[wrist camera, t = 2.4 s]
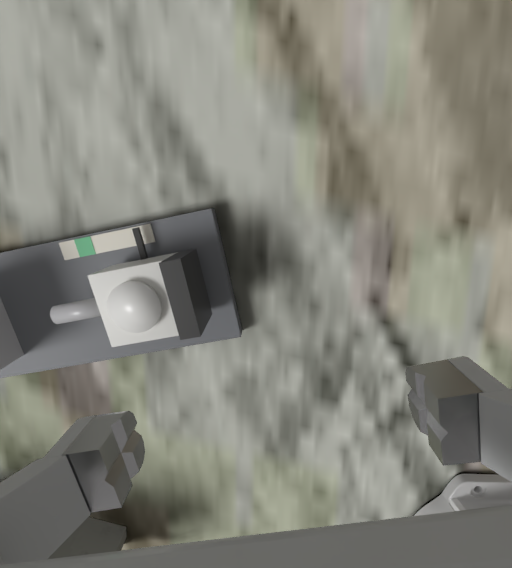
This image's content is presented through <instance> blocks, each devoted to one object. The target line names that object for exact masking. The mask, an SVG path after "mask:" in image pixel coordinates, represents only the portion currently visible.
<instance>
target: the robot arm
mask: <svg viewBox="0 0 512 568" xmlns="http://www.w3.org/2000/svg"><path fill="white" fill-rule="evenodd" d="M406 381H407V383H408V384H409V385H410V387H411V388H412V389H411V391H410V393H409V394H408V401H409V407H410V410H411V414H412V417H413V419H414V421H415V423H416V425H417V427H418V428H419V430H420V432H422V433H424V434H426V435H428V440H429V445H430V447H431V448H432V450H433V451H434V453H435V454H436V456H437V457H438V459H439V460H440V462H441V463H442V465H453V464H463V463H472V462H481V464H483V465H485V466H486V467H488V468H489V469H491V470H493V471H494V472H496V473H497V474H499V475H494V474H460V475H457V476H455V477H454V478H453V479H452V480H451V481H450V482H449V484H448V485H447V486H446V488H445V489H444V491H443V492H442V494H440V495H439V496H438V497H437V498H435V499H434V500H432V501H431V502H429V503H428V504H426V505H425V506H424V507H422V508H421V509H420V510H419V511H418V512H417V513H416V514H415V515H414V516H410V517H402V518H394V519H385V520H377V521H368V522H360V523H351V524H343V525H334V526H326V527H317V528H309V529H300V530H291V531H283V532H274V533H266V534H257V535H248V536H240V537H231V538H223V539H214V540H205V541H197V542H188V543H180V544H171V545H163V546H155V547H146V548H138V549H129V550H121V551H113V552H104V553H96V554H88V555H79V556H71V557H62V558H54V559H48V558H49V557H50V556H51V555H52V554H53V553H54V552H55V551H56V550H57V549H58V548H59V547H60V545H61V544H62V543H63V542H64V541H65V540H66V539H67V538H68V537H69V536H70V535H71V534H72V533H73V532H74V531H75V530H76V529H77V528H78V527H79V526H80V525H81V524H82V523H83V522H84V521H85V520H86V519H87V518H88V517H89V516H90V515H91V512H98V511H104V510H110V509H116V508H122V506H123V504H124V501H125V499H126V497H127V495H128V493H129V491H130V489H131V487H132V482H131V478H132V477H133V476H134V475H136V474H137V473H138V472H139V471H140V468H141V466H142V464H143V460H144V454H145V448H144V442H143V439H142V436H141V435H140V434H139V433H137V432H136V431H135V427H136V424H137V421H136V419H135V416H134V414H133V413H132V412H130V411H124V412H117V413H109V414H102V415H94V416H88V417H83V418H80V419H77V420H76V422H75V423H74V424H73V425H72V426H71V427H70V428H69V429H68V430H67V432H66V433H65V434H64V435H63V436H62V437H61V438H60V439H59V441H58V442H57V443H56V444H55V445H54V446H53V447H52V448H51V449H50V451H49V452H48V453H47V454H46V455H45V456H44V457H43V458H42V459H37V460H35V461H34V462H32V463H31V464H29V465H27V466H26V467H24V468H23V469H21V470H19V471H18V472H16V473H15V474H13V475H11V476H10V477H8V478H7V479H5V480H3V481H2V482H0V568H512V389H508V388H507V387H506V386H504V385H503V384H502V383H501V382H499V381H498V380H497V379H495V378H494V377H493V376H491V375H490V374H489V373H488V372H486V371H485V370H484V369H482V368H481V367H480V366H479V365H477V364H476V363H475V362H473V361H472V360H471V359H469V358H468V357H465V356H462V357H456V358H451V359H446V360H442V361H436V362H431V363H426V364H420V365H415V366H409V367H406Z"/></svg>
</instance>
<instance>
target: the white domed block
mask: <svg viewBox="0 0 512 568" xmlns="http://www.w3.org/2000/svg"><path fill="white" fill-rule="evenodd" d="M132 231H133V234H134V238H135V241H136V244H137V248H138V251H139V255H140V258H141V260H136V261H131V262H126V263H121V264H116V265H112V266H109V267H107V268H105V269H102V270H100V271H97V272H95V273H92V274H90V275H87V276H88V279H89V282H90V285H91V288H92V291H93V294H94V297H95V298H92V299H87V300H82V301H76V302H71V303H66V304H61V305H56V306H53V307H52V308H51V310H50V317H51V319H52V321H53V322H54V323H55V324H61V323H67V322H72V321H78V320H83V319H89V318H94V317H99V316H101V317H102V320H103V323H104V326H105V329H106V332H107V335H108V338H109V341H110V344H111V347H117V346H122V345H128V344H134V343H140V342H145V341H151V340H157V339H162V338H168V337H174V336H179V337H180V340H184V339H190V338H196V337H201V335H202V333H203V331H204V329H205V327H206V325H207V323H208V321H209V320H210V318H211V316H212V310H211V306H210V302H209V298H208V294H207V290H206V286H205V282H204V278H203V274H202V270H201V266H200V262H199V258H198V254H197V250H196V249H191V250H186V251H181V252H176V253H171V254H166V255H161V256H156V257H151V258H148V255H147V252H146V248H145V245H144V241H143V238H142V234H141V231H140V227H137V228H133V229H132Z"/></svg>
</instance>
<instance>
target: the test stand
mask: <svg viewBox="0 0 512 568" xmlns="http://www.w3.org/2000/svg"><path fill="white" fill-rule="evenodd" d="M137 227H140V231H141V234H142V238H143V241H144V245H145V248H146V252H147V255H148V258H151V257H156V256H161V255H166V254H171V253H176V252H181V251H186V250H191V249H196V250H197V254H198V258H199V262H200V266H201V270H202V274H203V278H204V282H205V286H206V290H207V294H208V298H209V302H210V306H211V310H212V316H211V318H210V320H209V321H208V323H207V325H206V327H205V329H204V331H203V333H202V335H201V337H196V338H190V339H184V340H180V337H179V336H174V337H168V338H162V339H157V340H151V341H145V342H140V343H134V344H128V345H122V346H117V347H111V344H110V341H109V338H108V335H107V332H106V329H105V326H104V323H103V320H102V317H101V316H99V317H94V318H89V319H83V320H78V321H72V322H67V323H61V324H55V323H54V322H53V321H52V319H51V317H50V310H51V308H52V307H53V306H56V305H61V304H66V303H71V302H76V301H82V300H87V299H92V298H95V297H94V294H93V291H92V288H91V285H90V282H89V279H88V276H87V275H90V274H92V273H95V272H97V271H100V270H102V269H105V268H107V267H109V266H112V265H116V264H121V263H126V262H131V261H136V260H141V258H140V255H139V251H138V248H137V244H136V241H135V238H134V234H133V231H132V229H133V228H137ZM241 334H242V328H241V323H240V319H239V314H238V310H237V306H236V301H235V297H234V293H233V288H232V284H231V279H230V275H229V271H228V266H227V262H226V258H225V253H224V249H223V244H222V240H221V236H220V231H219V227H218V223H217V218H216V214H215V209H214V208H211V209H206V210H201V211H196V212H192V213H187V214H182V215H177V216H173V217H168V218H163V219H158V220H154V221H149V222H144V223H139V224H135V225H130V226H125V227H120V228H116V229H111V230H106V231H101V232H97V233H92V234H87V235H82V236H78V237H73V238H68V239H63V240H59V241H54V242H49V243H44V244H40V245H35V246H30V247H25V248H21V249H16V250H11V251H6V252H2V253H0V378H4V377H9V376H15V375H21V374H27V373H33V372H39V371H44V370H50V369H56V368H62V367H68V366H74V365H79V364H85V363H91V362H97V361H103V360H109V359H114V358H120V357H126V356H132V355H138V354H143V353H149V352H155V351H161V350H167V349H173V348H178V347H184V346H190V345H196V344H202V343H208V342H213V341H219V340H225V339H231V338H237V337H241Z"/></svg>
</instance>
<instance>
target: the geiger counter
mask: <svg viewBox="0 0 512 568" xmlns="http://www.w3.org/2000/svg"><path fill="white" fill-rule="evenodd" d="M125 539H126V527H125V526H121V525H117V524H113V523H110V522H106V521H102V520H98V519H95V518H91V517H88V518H87V519H86V520H85V521H84V522H83V523H82V524H81V525H80V526H79V527H78V528H77V529H76V530H75V531H74V532H73V533H72V534H71V535H70V536H69V537H68V538H67V539H66V540H65V541H64V542H63V543H62V544H61V545H60V547H59V548H58V549H57V550H56V551H55V552H54V553H53V554H52V555H51V556H50V557H49V558H48V559H54V558H62V557H71V556H79V555H88V554H96V553H104V552H113V551H121V549H122V547H123V544H124V542H125Z"/></svg>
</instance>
